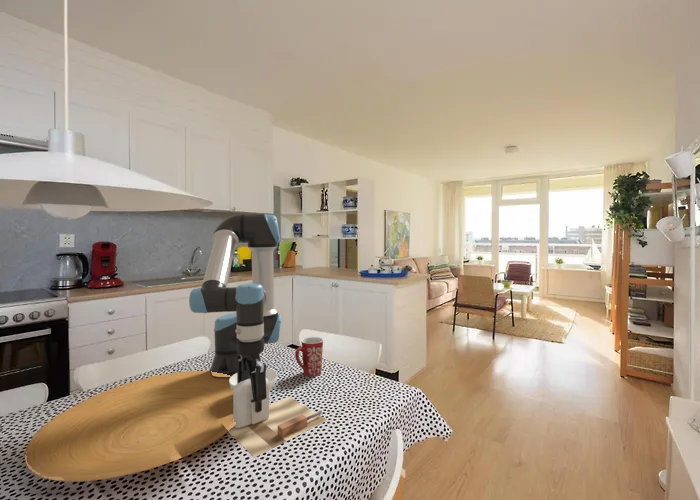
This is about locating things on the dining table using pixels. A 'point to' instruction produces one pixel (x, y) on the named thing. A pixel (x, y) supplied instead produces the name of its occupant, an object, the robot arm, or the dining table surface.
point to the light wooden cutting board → (273, 427)
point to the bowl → (270, 373)
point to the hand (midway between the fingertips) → (251, 417)
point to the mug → (311, 355)
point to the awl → (294, 424)
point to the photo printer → (247, 403)
